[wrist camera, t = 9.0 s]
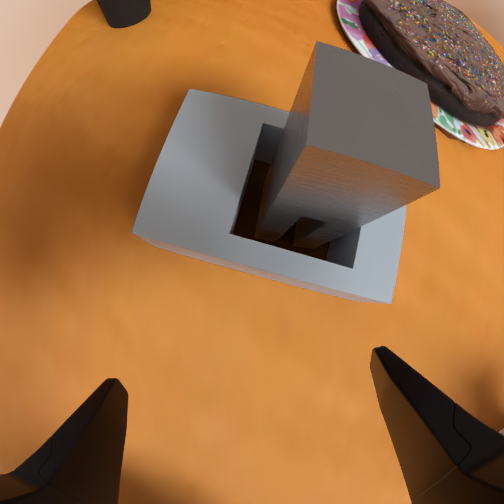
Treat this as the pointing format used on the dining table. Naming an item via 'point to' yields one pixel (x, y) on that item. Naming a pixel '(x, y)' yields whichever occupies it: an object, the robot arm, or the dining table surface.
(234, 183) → the rectangular frame
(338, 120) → the grey rectangular block
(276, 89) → the dining table surface
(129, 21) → the drinking cup
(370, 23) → the chocolate cake
